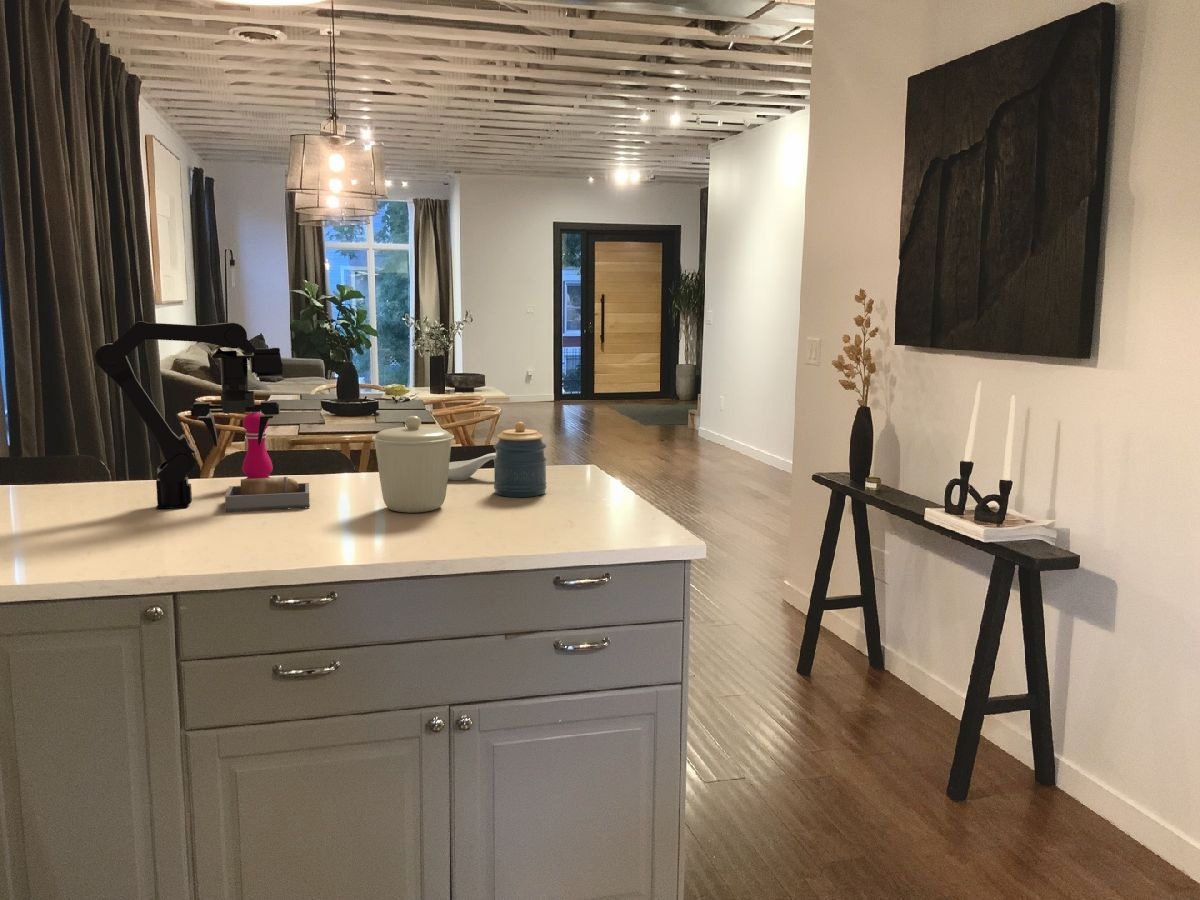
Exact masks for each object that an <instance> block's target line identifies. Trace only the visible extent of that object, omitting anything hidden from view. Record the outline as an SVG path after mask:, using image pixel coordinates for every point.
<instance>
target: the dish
mask: <svg viewBox="0 0 1200 900" xmlns="http://www.w3.org/2000/svg"><path fill="white" fill-rule="evenodd" d="M297 483H298V482H297ZM298 486H299V488H298V491H297V493H279V494H257V495H241V485H230V486H228V489H227V491H226V493H225V495H224V499H225V500H224V503H225V513H235V512H237V513H238V512H239V513H240V511H242V512H254V511H253V510H261V511H273V510H272V509H281V510H289V509H288V508H301V509H306V508H305V507H310V503H309V502H310V482H299V483H298Z"/></svg>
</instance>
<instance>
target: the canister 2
mask: <svg viewBox="0 0 1200 900" xmlns="http://www.w3.org/2000/svg"><path fill="white" fill-rule="evenodd" d="M496 438H497V439H498V440H497V442H495V443H494V445H493V448H494V449H495V453H496V456H495V458H494V459H493V463H494V464H493V465H494V466H493V468H494V475H493V476H494V482H493V488H494V493H495V494H496V495H498V496H502V497H507V498H531V497H538V496H542V495H544V494H546V491H547V460H548V459H547V457H546V455H545V450H546V448H548V447H547V446H548V445H547V444H546V442H545V443H544V442H543V440H542V439H543V438H544V435H543V434H542V433H540V432H539V431H538V430H536V429H527V428H526V424H525V423H524V422H522V421H517V422H516V423H515V424H514V428H513V429H505V430H503V431H501V433H499V434H497V436H496Z"/></svg>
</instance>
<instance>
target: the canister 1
mask: <svg viewBox="0 0 1200 900" xmlns="http://www.w3.org/2000/svg"><path fill="white" fill-rule="evenodd" d="M404 424H405V426H402V427H401V426H400V427H393V428H386V429H383V430H380V431H378V432H377V434H374V435H372V437H371V440H372V441H373V442H374V445H375V455H376V461H377V469H378V475H379V476H378V477H379V481H380V482H379V483H380V490H381V495H382V500H383V502H384V504H385V506H386V507H387V509H388V510H391V511H394V512H399V513H409V514H411V513H412V514H413V513H416V514H417V513H428V512H431V511H435V510H437V509H440V507H442V505H443V504H444V502H445V500H446V495H447V490H448V482H449V480H448V472H449V462H451V461H450V459H451V448H452V441H453V440H454V439H455V435H454V434H451V433H450V432H449V431H448V430H445V429H443V428H438V427H429V426H421V425H422V420H421V418H420V417H419V416H417V415H410V416H407V417H405V419H404Z"/></svg>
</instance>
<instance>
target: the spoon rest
mask: <svg viewBox="0 0 1200 900" xmlns="http://www.w3.org/2000/svg"><path fill="white" fill-rule="evenodd" d="M495 456H496V452H492V453H487V454H485V455H482V456H480V457H477V458H472V459H469V460H467V459H466V460H460V461H449V472H448V481H462V480H463V481H464V480H468V479H470V478H471V477H472V476H473V475H474V474H475V473H477V471H478V470H479V469H480V468H481V467H482V466H483V465H484V464H486V463H488V462H489V461H491V460H494V458H495Z"/></svg>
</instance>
